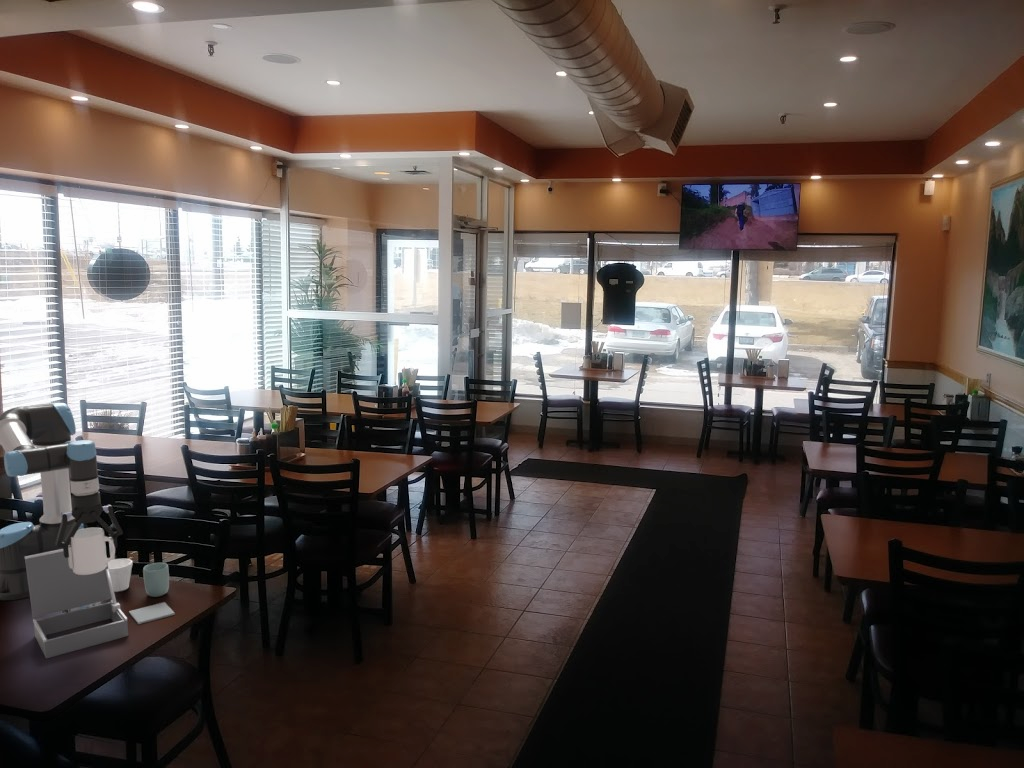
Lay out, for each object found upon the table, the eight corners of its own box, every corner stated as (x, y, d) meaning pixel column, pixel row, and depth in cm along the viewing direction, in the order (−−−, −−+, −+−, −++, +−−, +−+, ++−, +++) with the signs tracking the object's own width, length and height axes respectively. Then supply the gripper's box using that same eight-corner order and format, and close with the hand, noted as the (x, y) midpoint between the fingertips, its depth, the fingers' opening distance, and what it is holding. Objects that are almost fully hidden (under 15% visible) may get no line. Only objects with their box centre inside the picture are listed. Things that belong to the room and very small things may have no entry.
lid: (33, 618, 245) (32, 617, 246) (112, 598, 259) (111, 597, 260) (25, 557, 245) (24, 556, 246) (104, 540, 259) (103, 540, 260)
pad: (129, 612, 262) (129, 611, 262) (164, 603, 269) (164, 602, 269) (138, 624, 254) (138, 622, 254) (174, 614, 260) (174, 612, 260)
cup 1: (114, 582, 287) (112, 557, 286) (140, 584, 286) (138, 558, 285) (96, 594, 278) (94, 568, 276) (123, 595, 276) (121, 569, 275)
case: (33, 635, 247) (28, 585, 245) (114, 614, 261) (109, 567, 259) (45, 658, 232) (40, 606, 230) (130, 635, 246) (125, 585, 244)
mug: (73, 567, 249) (69, 530, 247) (117, 560, 254) (113, 524, 252) (71, 577, 240) (67, 540, 238) (116, 570, 245) (113, 533, 243)
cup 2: (149, 601, 271) (147, 572, 270) (142, 594, 277) (139, 566, 275) (173, 594, 276) (171, 566, 275) (165, 588, 282) (163, 560, 280)
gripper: (43, 502, 233) (50, 575, 236) (130, 488, 247) (136, 557, 250) (39, 496, 239) (46, 568, 242) (124, 483, 253) (130, 550, 256)
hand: (92, 562), depth 246 cm, fingers closed on mug, 11 cm apart
